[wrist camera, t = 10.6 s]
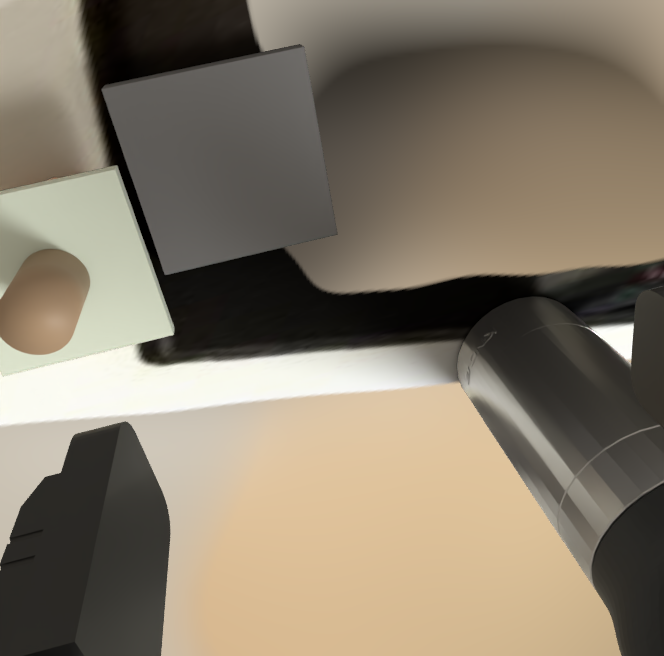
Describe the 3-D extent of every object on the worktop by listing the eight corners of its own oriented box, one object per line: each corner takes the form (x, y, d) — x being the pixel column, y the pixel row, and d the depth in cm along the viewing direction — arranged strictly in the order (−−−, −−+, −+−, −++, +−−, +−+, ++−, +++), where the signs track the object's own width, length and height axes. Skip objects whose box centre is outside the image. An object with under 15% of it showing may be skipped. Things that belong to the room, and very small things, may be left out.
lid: (117, 165, 29) (102, 198, 24) (174, 327, 34) (170, 381, 29) (-79, 208, 28) (-132, 251, 24) (7, 368, 33) (-24, 430, 28)
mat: (299, 44, 32) (304, 46, 30) (332, 225, 37) (337, 234, 35) (105, 84, 31) (101, 89, 30) (166, 264, 36) (165, 275, 35)
